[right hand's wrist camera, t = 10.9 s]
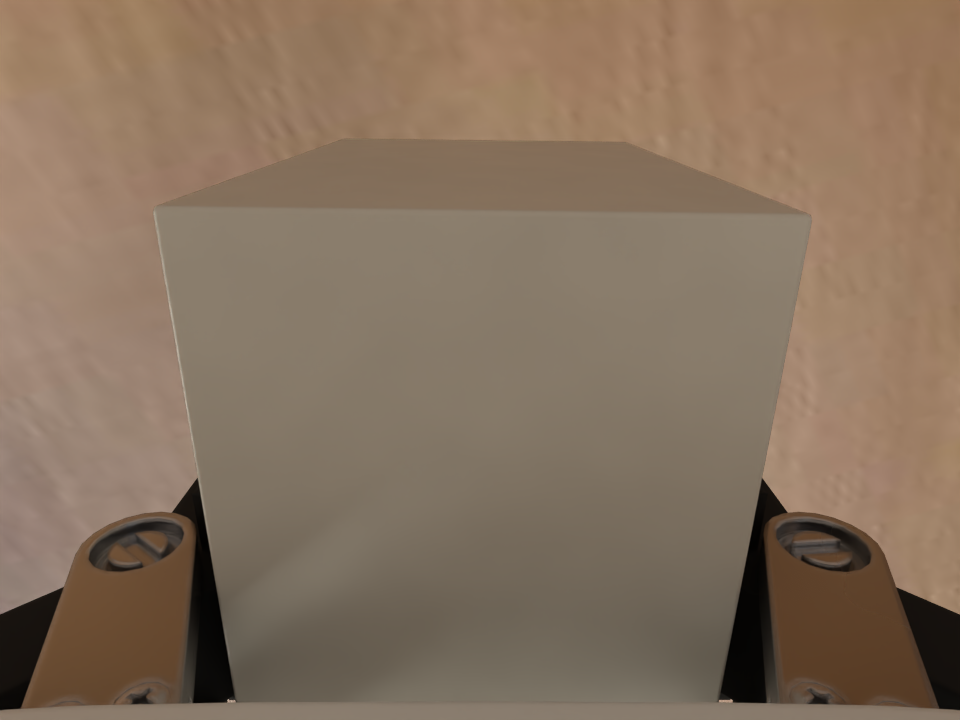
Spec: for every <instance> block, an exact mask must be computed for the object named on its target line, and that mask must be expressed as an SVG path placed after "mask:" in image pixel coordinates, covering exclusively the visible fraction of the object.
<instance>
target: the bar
mask: <svg viewBox="0 0 960 720" xmlns="http://www.w3.org/2000/svg"><path fill="white" fill-rule="evenodd" d="M153 214H154V220H155V226H156V232H157V238H158V244H159V250H160V256H161V262H162V268H163V274H164V280H165V286H166V292H167V298H168V303H169V309H170V315H171V321H172V327H173V333H174V339H175V345H176V351H177V357H178V363H179V369H180V375H181V381H182V387H183V392H184V398H185V404H186V410H187V416H188V422H189V428H190V434H191V440H192V446H193V452H194V458H195V464H196V470H197V475H198V481H199V487H200V493H201V499H202V505H203V511H204V517H205V523H206V529H207V535H208V541H209V547H210V553H211V559H212V564H213V570H214V576H215V582H216V588H217V594H218V600H219V606H220V612H221V618H222V624H223V630H224V636H225V642H226V648H227V653H228V659H229V665H230V671H231V677H232V683H233V689H234V695H235V701H236V703H238V702H406V701H554V702H719V697H720V692H721V687H722V681H723V676H724V671H725V666H726V661H727V656H728V651H729V645H730V640H731V635H732V630H733V625H734V620H735V614H736V609H737V604H738V599H739V594H740V589H741V583H742V578H743V573H744V568H745V563H746V558H747V552H748V547H749V542H750V537H751V532H752V527H753V522H754V516H755V511H756V506H757V501H758V496H759V491H760V485H761V480H762V475H763V470H764V465H765V460H766V454H767V449H768V444H769V439H770V434H771V429H772V424H773V418H774V413H775V408H776V403H777V398H778V393H779V387H780V382H781V377H782V372H783V367H784V362H785V356H786V351H787V346H788V341H789V336H790V331H791V325H792V320H793V315H794V310H795V305H796V300H797V295H798V289H799V284H800V279H801V274H802V269H803V264H804V258H805V253H806V248H807V243H808V238H809V233H810V227H811V222H812V219H811V215H809V214H807V213H805V212H802V211H799V210H797V209H794V208H792V207H789V206H787V205H784V204H782V203H779V202H777V201H774V200H772V199H769V198H766V197H764V196H761V195H759V194H756V193H754V192H751V191H749V190H746V189H744V188H741V187H738V186H736V185H733V184H731V183H728V182H726V181H723V180H721V179H718V178H716V177H713V176H710V175H708V174H705V173H703V172H700V171H698V170H695V169H693V168H690V167H688V166H685V165H683V164H680V163H677V162H675V161H672V160H670V159H667V158H665V157H662V156H660V155H657V154H655V153H652V152H649V151H647V150H644V149H642V148H639V147H637V146H634V145H632V144H629V143H627V142H582V141H500V140H417V139H342V140H339V141H336V142H333V143H331V144H328V145H325V146H322V147H319V148H317V149H314V150H311V151H308V152H305V153H303V154H300V155H297V156H294V157H291V158H289V159H286V160H283V161H280V162H278V163H275V164H272V165H269V166H266V167H264V168H261V169H258V170H255V171H252V172H250V173H247V174H244V175H241V176H238V177H236V178H233V179H230V180H227V181H224V182H222V183H219V184H216V185H213V186H211V187H208V188H205V189H202V190H199V191H197V192H194V193H191V194H188V195H185V196H183V197H180V198H177V199H174V200H171V201H169V202H166V203H163V204H160V205H158V206H156V207H154V211H153Z"/></svg>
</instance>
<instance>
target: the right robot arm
mask: <svg viewBox="0 0 960 720" xmlns="http://www.w3.org/2000/svg"><path fill="white" fill-rule="evenodd" d="M228 699H229V700H235V695H234V689H233V683H232V677H231V671H230V665H229V659H228V653H227V648H226V642H225V636H224V630H223V624H222V618H221V612H220V606H219V600H218V594H217V588H216V582H215V576H214V570H213V564H212V559H211V553H210V547H209V541H208V535H207V529H206V523H205V517H204V511H203V505H202V499H201V493H200V487H199V481H198V478H197V479H196V481H195V482H194V483H193V485H192V486H191V487H190V489H189V490H188V492H187V493H186V494H185V496H184V497H183V498H182V500H181V501H180V502H179V504H178V505H177V507H176V508H175V509H174V511H173V512H172V513H168V512H154V513H144V514H140V515H136V516H131V517H127V518H124V519H122V520H119V521H117V522H114V523H112V524H109V525H107V526H106V527H104V528H102V529H101V530H99V531H97V532H95V533H94V534H93V535H92V536H90V537H89V538H88V539H87V540H86V541H85V542H84V543H82V545H81V546H80V548H79V550H78V551H77V553H76V555H75V557H74V560H73V563H72V566H71V569H70V572H69V574H68V577H67V580H66V583H65V586H64V587H63V588H61V589H58V590H56V591H54V592H51V593H49V594H47V595H44V596H42V597H40V598H37V599H35V600H33V601H31V602H28V603H26V604H24V605H21V606H19V607H17V608H14V609H12V610H10V611H7V612H5V613H3V614H0V720H960V615H959V614H957V613H955V612H952V611H950V610H948V609H945V608H943V607H941V606H938V605H936V604H934V603H931V602H929V601H927V600H925V599H922V598H920V597H918V596H915V595H913V594H911V593H908V592H906V591H904V590H901V589H899V588H897V587H896V586H895V583H894V580H893V577H892V574H891V572H890V569H889V566H888V563H887V560H886V557H885V555H884V553H883V551H882V550H881V548H880V546H879V545H878V543H876V542H875V541H874V540H873V539H872V538H871V537H870V536H868V535H867V534H866V533H865V532H863V531H861V530H859V529H858V528H856V527H854V526H853V525H851V524H848V523H846V522H843V521H841V520H838V519H836V518H833V517H829V516H824V515H820V514H816V513H805V512H792V513H788V512H787V511H786V510H785V508H784V507H783V506H782V504H781V503H780V502H779V500H778V499H777V498H776V496H775V495H774V493H773V492H772V491H771V489H770V488H769V487H768V485H767V484H766V483H765V481H764V480H763V479H762V480H761V485H760V491H759V496H758V501H757V506H756V511H755V516H754V522H753V527H752V532H751V537H750V542H749V547H748V552H747V558H746V563H745V568H744V573H743V578H742V583H741V589H740V594H739V599H738V604H737V609H736V614H735V620H734V625H733V630H732V635H731V640H730V645H729V651H728V656H727V661H726V666H725V671H724V676H723V681H722V687H721V692H720V697H719V700H730V699H732V700H733V703H722V702H554V701H406V702H238V703H227V700H228Z"/></svg>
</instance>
